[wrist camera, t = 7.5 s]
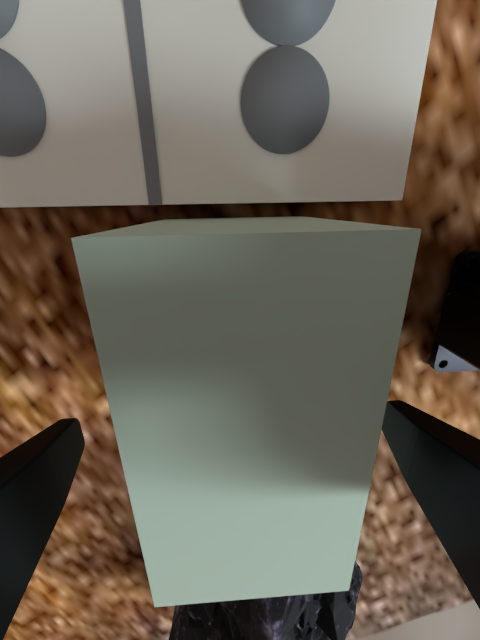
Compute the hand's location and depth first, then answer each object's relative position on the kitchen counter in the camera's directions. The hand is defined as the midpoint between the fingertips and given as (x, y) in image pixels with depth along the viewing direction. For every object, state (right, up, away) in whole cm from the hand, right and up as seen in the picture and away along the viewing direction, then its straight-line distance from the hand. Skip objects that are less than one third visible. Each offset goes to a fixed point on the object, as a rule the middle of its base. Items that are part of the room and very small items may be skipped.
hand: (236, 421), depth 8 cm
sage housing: (0, +2, +6) cm, 7 cm away
